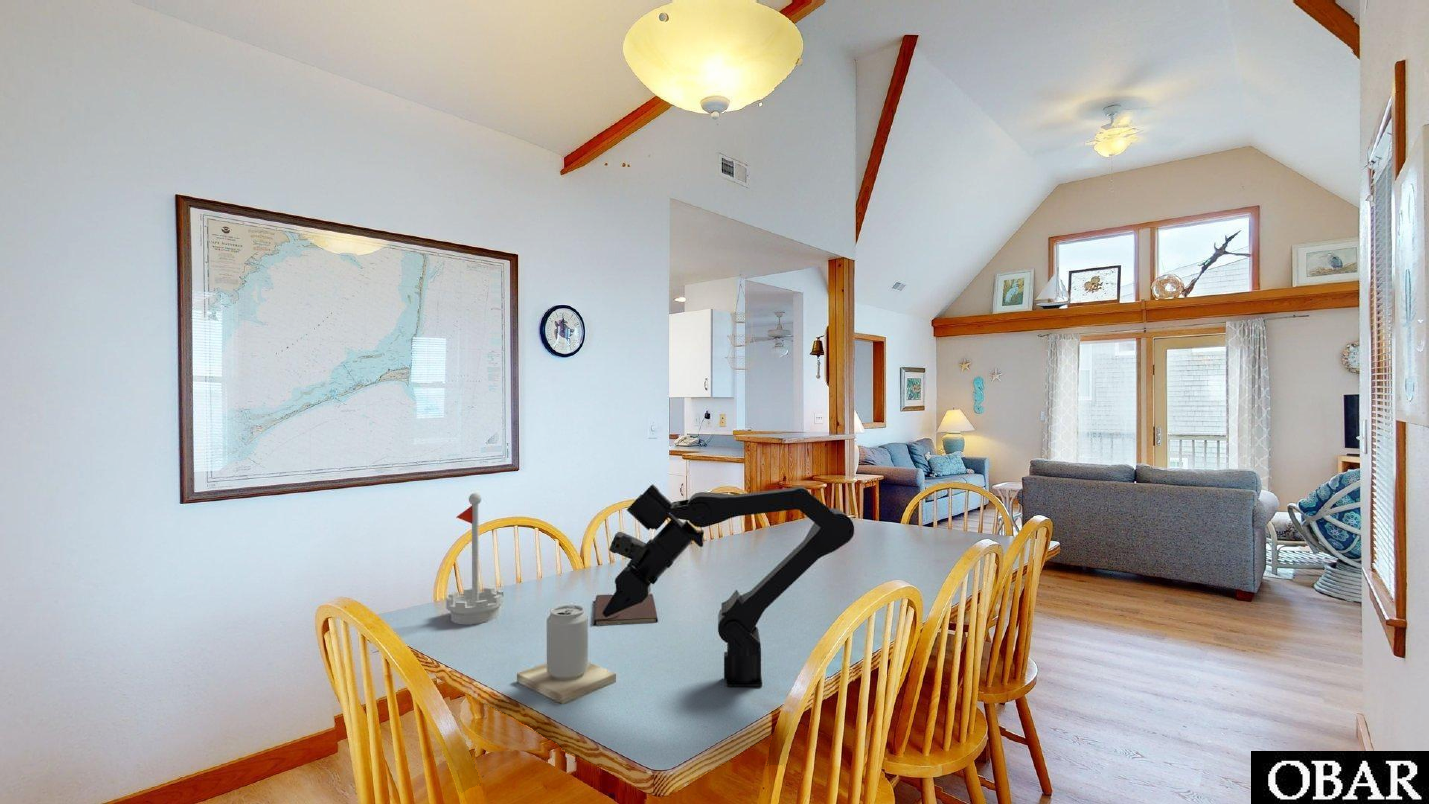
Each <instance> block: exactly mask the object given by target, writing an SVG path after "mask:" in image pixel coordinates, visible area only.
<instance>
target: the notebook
mask: <svg viewBox="0 0 1429 804" xmlns="http://www.w3.org/2000/svg"><path fill="white" fill-rule="evenodd" d="M613 595H614V594H610V593H609V594H597V595H595V601H594V613H593V623H592V624H593V626H602V625H601V624H610V625H619V624H618V623H629V624H645V623H658V622H659V618H658V615H657V609H656V605H655V604H656V603H655V599H654V595H653V593H649V595H648V596H647V597H646V599H645V600H644V601H643V602H642V603H639V604H636V605H634V606H631V607H629V608H627V609H624V610H622V611H620V612H617V613H615V614H613V615H611V616H608V617H605V616H604V615H603V614H602V612H603V611H604V609H605V607H606V606H607V604H608V603H609V601H610V599H611V598H612V596H613Z"/></svg>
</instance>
